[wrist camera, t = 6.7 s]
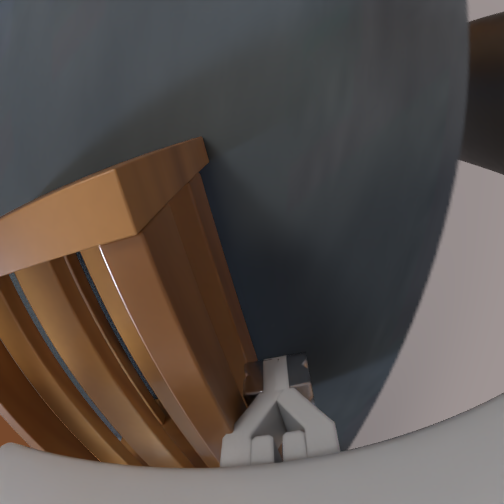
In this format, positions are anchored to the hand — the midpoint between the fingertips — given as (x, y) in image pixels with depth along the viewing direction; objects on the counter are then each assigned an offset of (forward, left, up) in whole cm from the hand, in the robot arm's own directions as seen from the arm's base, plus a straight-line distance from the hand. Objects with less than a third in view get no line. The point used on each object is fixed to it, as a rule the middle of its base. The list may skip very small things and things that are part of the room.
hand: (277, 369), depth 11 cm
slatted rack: (+6, 0, -6) cm, 8 cm away
